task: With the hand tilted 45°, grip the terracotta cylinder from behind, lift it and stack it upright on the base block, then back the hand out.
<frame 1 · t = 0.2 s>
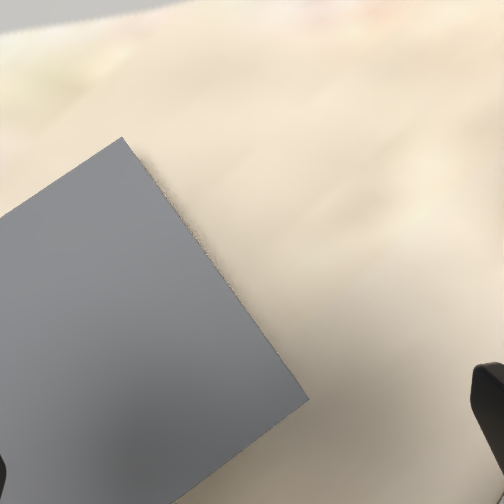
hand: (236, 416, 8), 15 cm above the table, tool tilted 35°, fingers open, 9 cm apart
base block: (97, 354, 23), on the table
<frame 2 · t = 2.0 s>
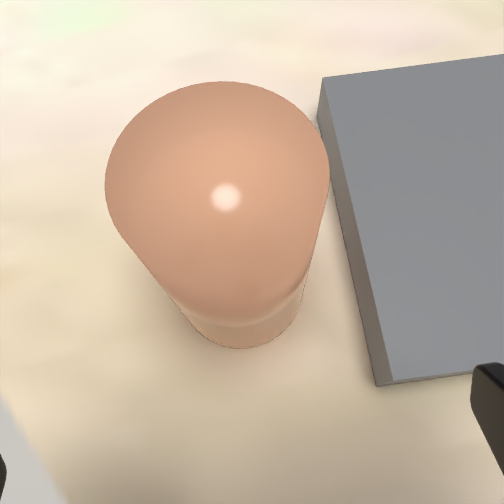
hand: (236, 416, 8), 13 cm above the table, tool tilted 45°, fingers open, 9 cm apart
base block: (487, 215, 23), on the table
terracotta cylinder: (241, 287, 22), on the table
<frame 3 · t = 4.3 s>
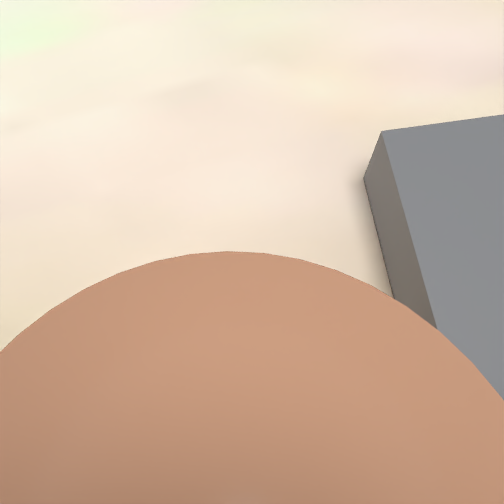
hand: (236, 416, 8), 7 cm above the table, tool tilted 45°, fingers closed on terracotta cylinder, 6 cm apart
terracotta cylinder: (256, 465, 14), on the table, touching gripper
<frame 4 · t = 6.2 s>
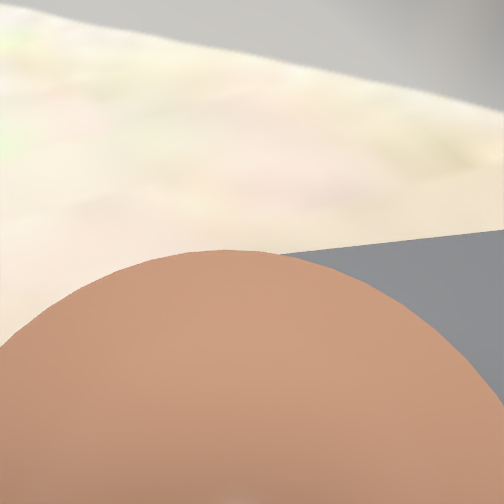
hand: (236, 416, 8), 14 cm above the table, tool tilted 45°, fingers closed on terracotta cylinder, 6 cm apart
base block: (389, 417, 21), on the table
terracotta cylinder: (255, 464, 14), point 7 cm above the table, touching gripper
when the fingers open (11 cm above the table, at t = 8.1 s): terracotta cylinder drops 1 cm, resting on base block.
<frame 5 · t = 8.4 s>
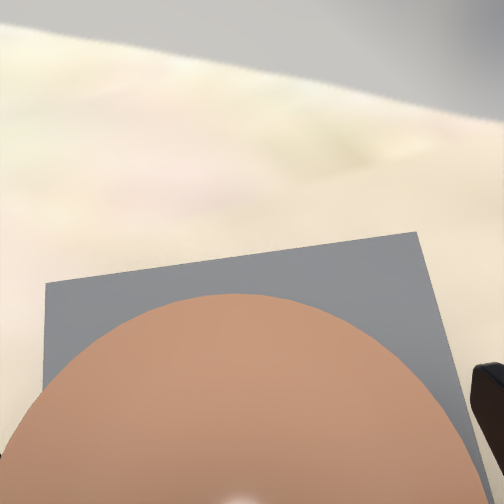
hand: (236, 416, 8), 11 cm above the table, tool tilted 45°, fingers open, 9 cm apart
base block: (259, 454, 18), on the table
terracotta cylinder: (257, 463, 15), point 3 cm above the table, touching base block
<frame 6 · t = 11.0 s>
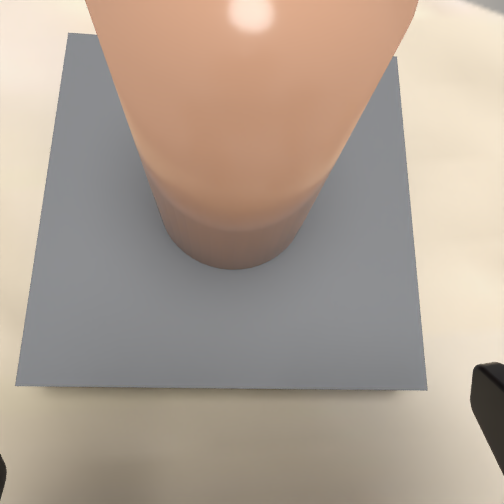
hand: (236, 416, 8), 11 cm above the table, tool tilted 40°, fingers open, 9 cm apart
base block: (230, 222, 21), on the table
terracotta cylinder: (232, 198, 18), point 3 cm above the table, touching base block
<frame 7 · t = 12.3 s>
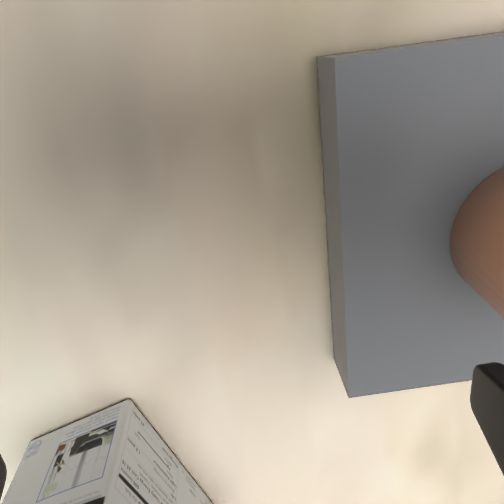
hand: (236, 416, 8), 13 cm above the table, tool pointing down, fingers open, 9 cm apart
base block: (483, 207, 21), on the table
light bulb box: (131, 472, 27), on the table
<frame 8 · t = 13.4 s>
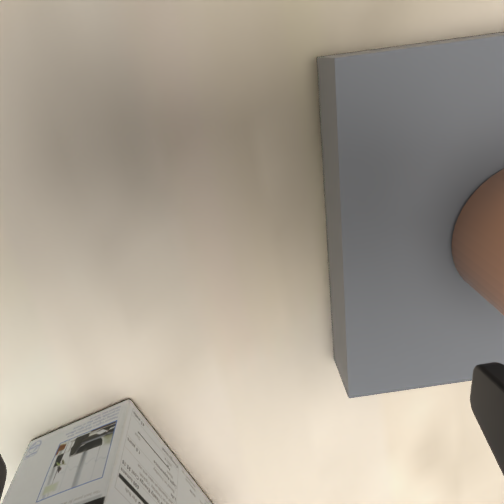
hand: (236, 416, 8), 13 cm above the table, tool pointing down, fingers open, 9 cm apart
base block: (484, 208, 21), on the table
light bulb box: (131, 473, 27), on the table
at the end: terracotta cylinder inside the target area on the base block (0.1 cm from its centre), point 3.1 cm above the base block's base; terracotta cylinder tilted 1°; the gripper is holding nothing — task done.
